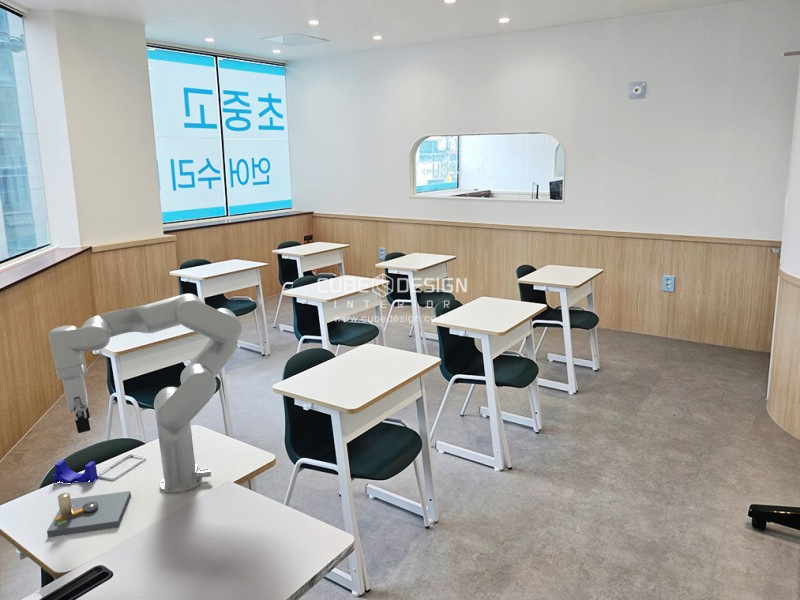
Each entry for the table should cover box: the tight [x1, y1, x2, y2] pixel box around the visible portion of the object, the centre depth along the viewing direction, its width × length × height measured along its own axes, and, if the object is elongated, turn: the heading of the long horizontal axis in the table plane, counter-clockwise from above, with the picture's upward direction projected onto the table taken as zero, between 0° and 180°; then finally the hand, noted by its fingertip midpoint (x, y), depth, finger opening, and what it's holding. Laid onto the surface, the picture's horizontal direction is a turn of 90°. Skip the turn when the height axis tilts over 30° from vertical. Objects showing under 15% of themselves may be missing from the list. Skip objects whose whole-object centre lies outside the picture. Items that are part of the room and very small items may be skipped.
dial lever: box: [54, 492, 98, 522], centre depth 169 cm, size 11×4×7 cm, turn 131°
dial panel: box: [46, 490, 132, 538], centre depth 172 cm, size 18×16×2 cm
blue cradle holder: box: [52, 459, 99, 485], centre depth 191 cm, size 12×4×6 cm, turn 82°
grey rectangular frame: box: [97, 453, 147, 481], centre depth 199 cm, size 7×1×15 cm
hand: (84, 425), depth 173 cm, fingers open, 9 cm apart
